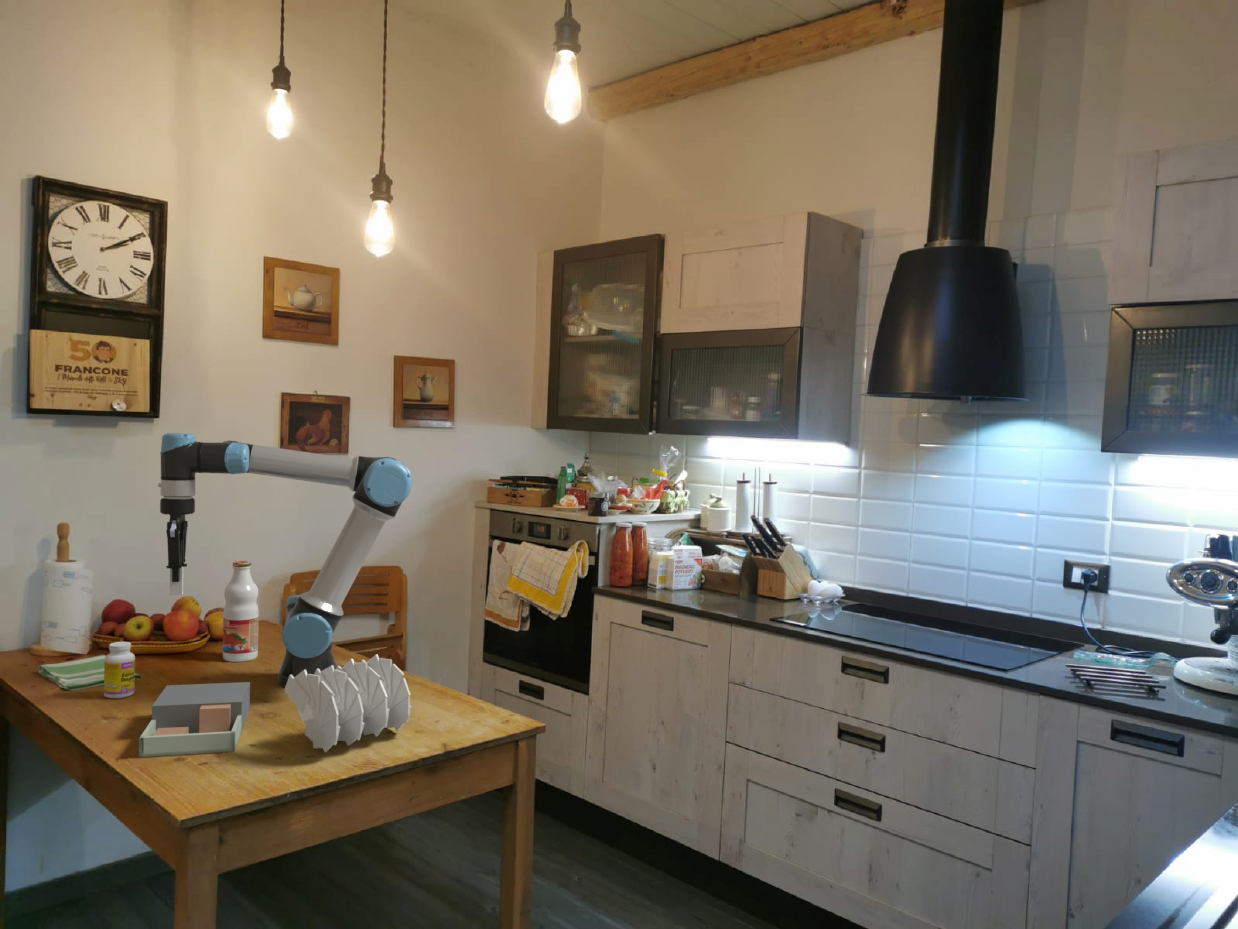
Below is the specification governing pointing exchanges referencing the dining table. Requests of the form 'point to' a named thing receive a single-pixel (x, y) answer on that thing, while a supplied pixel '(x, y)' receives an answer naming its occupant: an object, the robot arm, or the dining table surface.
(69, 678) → the dish towel
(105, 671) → the supplement bottle
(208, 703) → the slate step
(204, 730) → the terracotta tile
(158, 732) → the terracotta tile
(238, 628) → the fruit juice
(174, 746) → the sage tray
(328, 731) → the spiral staircase
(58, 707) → the dining table surface
